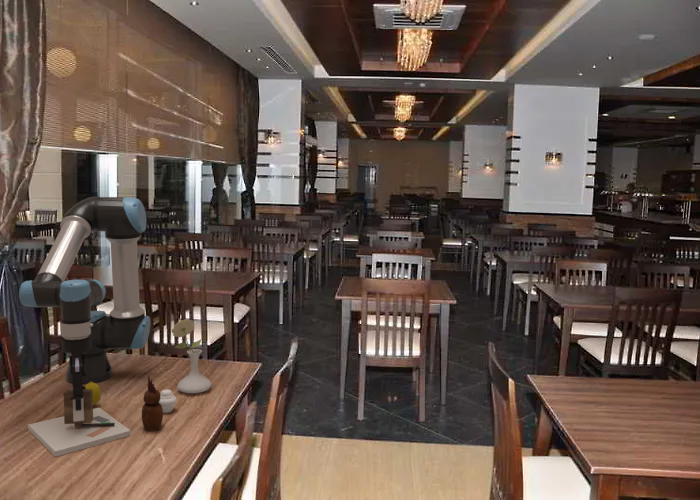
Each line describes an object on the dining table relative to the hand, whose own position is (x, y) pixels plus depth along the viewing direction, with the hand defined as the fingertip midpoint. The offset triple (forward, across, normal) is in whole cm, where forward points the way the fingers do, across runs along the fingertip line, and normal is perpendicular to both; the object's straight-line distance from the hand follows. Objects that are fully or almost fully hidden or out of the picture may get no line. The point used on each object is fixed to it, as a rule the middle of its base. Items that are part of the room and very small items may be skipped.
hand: (78, 416), depth 172 cm
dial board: (+5, 0, 0) cm, 5 cm away
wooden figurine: (+5, -4, -19) cm, 20 cm away
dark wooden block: (+3, -1, -3) cm, 4 cm away
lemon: (+5, +19, -4) cm, 20 cm away
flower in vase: (+5, +23, -35) cm, 42 cm away
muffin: (+5, +8, -25) cm, 26 cm away
